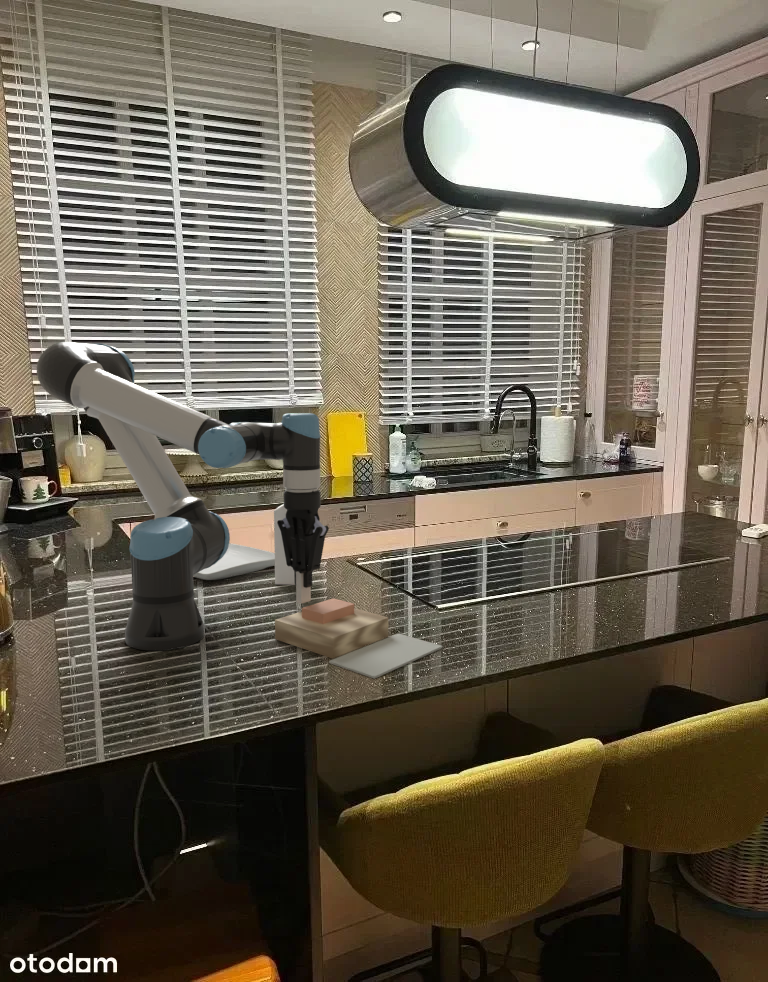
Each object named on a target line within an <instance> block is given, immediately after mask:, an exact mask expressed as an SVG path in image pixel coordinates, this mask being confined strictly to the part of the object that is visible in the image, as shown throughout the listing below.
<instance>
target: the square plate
mask: <svg viewBox="0 0 768 982" xmlns="http://www.w3.org/2000/svg"><path fill="white" fill-rule="evenodd" d="M273 566H274V567H275V552H272V551H269V550H265V549H260V548H256V547H251V546H247V545H243V544H237V543H232V542H231V543H230V542H229V546H228V549H227V551H226V553H225V555H224V556H223V557H222V558H221V559H220V560H219V561H218V562H217V563H215V564H214V565H212V566H211V567H209V568H206V569H203V570H201V571H200V572H198V573H196V574H194V575H193V578H196V579H199V580H204V581H205V580H206V581H217V580H223V579H228V578H231V577H236V576H240V575H245V574H248V573H253V572H257V571H262V570H265V569H267V568H271V567H273Z"/></svg>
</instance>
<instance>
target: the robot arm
mask: <svg viewBox="0 0 768 982" xmlns="http://www.w3.org/2000/svg"><path fill="white" fill-rule="evenodd" d="M36 376H37V380H38V382H39V384H40V386H41V387H42V389H43V390H44V391H45V392H47V394H48V395H50V396H52V397H53V398H55V399H58V400H59V401H61V402H64V403H67V404H69V405H71V406H74V407H75V408H78V409H83V410H84V412H85V414H86V415H87V416H88V417H92V418H94V419H97V420H98V421H99V423H100V424H101V426H102V428H103V429H104V431H105V433H106V435H107V436H108V437H109V440H110V441H111V443H112V445H113V446H114V448H115V449H116V452H117V453H118V454H119V457H120V458H121V460H122V462H123V463H124V466H125V467H126V468H127V470H128V472H129V474H130V476H131V477H132V479H133V481H134V482H135V484H136V486H137V488H138V489H139V491H140V493H141V494H142V496H143V497H144V499H145V502H146V503H147V504H148V506H149V508H150V510H151V511H152V513H153V514H154V518H153V519H148V520H145V521H142V522H140V523H138V524H137V525H135V526H134V527H133V528H132V529H131V532H130V537H129V538H130V542H129V548H128V549H129V553H130V570H131V571H130V572H131V587H132V589H131V591H132V605H131V609H130V612H129V615H128V619H127V622H126V626H125V630H124V639H125V640H124V641H125V644H126V645H127V646H128V647H131V648H133V649H136V650H140V651H141V650H142V651H169V650H175V649H182V648H185V647H188V646H190V645H193V644H196V643H198V642H199V641H201V640H202V639H203V638H204V636H205V626H204V625H205V624H204V621H203V618H202V616H201V613H200V610H199V608H198V606H197V603H196V601H195V593H194V591H195V589H194V587H195V586H194V577H193V575H194V574H196V573H198V572H200V571H201V570H203V569H206V568H209V567H211V566H212V565H214V564H215V563H217V562H218V561H219V560H220V559H221V558H222V557H223V556H224V555H225V553H226V551H227V549H228V546H229V543H230V541H231V538H230V537H231V535H230V530H229V526H228V525H227V523H226V522H225V520H224V518H222V517H221V516H220V515H219V514H217V513H216V512H215V513H214V512H212V511H210V510H208V508H207V506H206V505H205V504H206V503H204V501H203V500H202V498H200V497H196V496H193V495H192V494H191V493H190V491H189V489H188V487H187V486H186V484H185V483H184V481H183V480H182V477H181V476H180V474H179V473H178V471H177V469H176V468H175V466H174V464H173V463H172V462H173V461H172V460H171V459H170V457H169V456H168V454H167V453H166V451H165V449H164V447H163V446H162V444H161V442H160V440H159V439H158V438H160V439H162V440H164V441H167V442H169V443H172V444H174V445H176V446H178V447H181V448H183V449H185V450H187V451H190V452H191V453H194V454H197V455H199V457H200V458H201V459H202V461H203V462H204V463H205V464H206V465H208V466H210V467H211V468H215V469H228V468H232V467H234V466H238V465H241V464H244V463H250V462H252V461H257V460H267V461H268V460H275V461H280V460H282V487H283V489H285V490H284V491H283V504H284V508H285V509H287V512H286V517H285V518H284V519H283V520H278V522H277V524H278V526H279V528H280V531H281V535H282V541H283V546H284V552H285V557H286V563H287V566H291V567H292V568H293V570H294V580H295V587H296V588H295V594H296V603H299V604H304V603H307V602H311V601H312V600H311V599H312V598H311V595H312V594H311V593H312V588H311V587H312V586H313V571H316V570H319V569H320V568H321V563H322V558H323V557H322V556H323V551H324V546H325V545H324V544H325V541H326V540H325V539H326V536H327V534H328V532H329V526H328V524H327V525H326V524H325V525H323V524H322V523H321V521H320V516H319V509H320V508H321V502H322V500H321V491H320V487H321V464H320V463H321V438H322V437H321V434H320V433H321V432H320V431H321V430H320V419H319V417H318V415H316V414H315V413H312V412H311V413H309V412H306V413H305V412H302V413H301V412H298V413H297V412H294V413H293V412H292V413H291V412H290V413H289V412H288V413H284V414H283V415H282V418H281V422H275V423H274V422H252V421H251V422H249V421H238V422H231V423H229V424H228V423H226V422H223V421H222V420H218V419H216V418H213V417H212V416H210V415H207V414H205V413H203V412H200V411H198V410H195V409H193V408H191V407H189V406H186V405H184V404H182V403H179V402H177V401H175V400H172V399H170V398H168V397H165V396H163V395H161V394H158V393H156V392H155V391H151V390H150V389H147V388H144V387H142V386H140V385H137V384H135V379H134V378H135V376H136V373H135V367H134V365H133V362H132V361H131V359H130V358H129V356H128V355H127V354H126V353H125V352H124V351H122V350H121V349H119V348H117V347H115V346H113V345H108V344H105V343H98V342H97V343H84V342H73V341H61V342H57V343H53V344H51V345H50V346H48V347H47V348H45V350H44V351H43V352H42V353H41V354H40V356H39V358H38V361H37V363H36ZM291 559H292V560H291Z"/></svg>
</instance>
